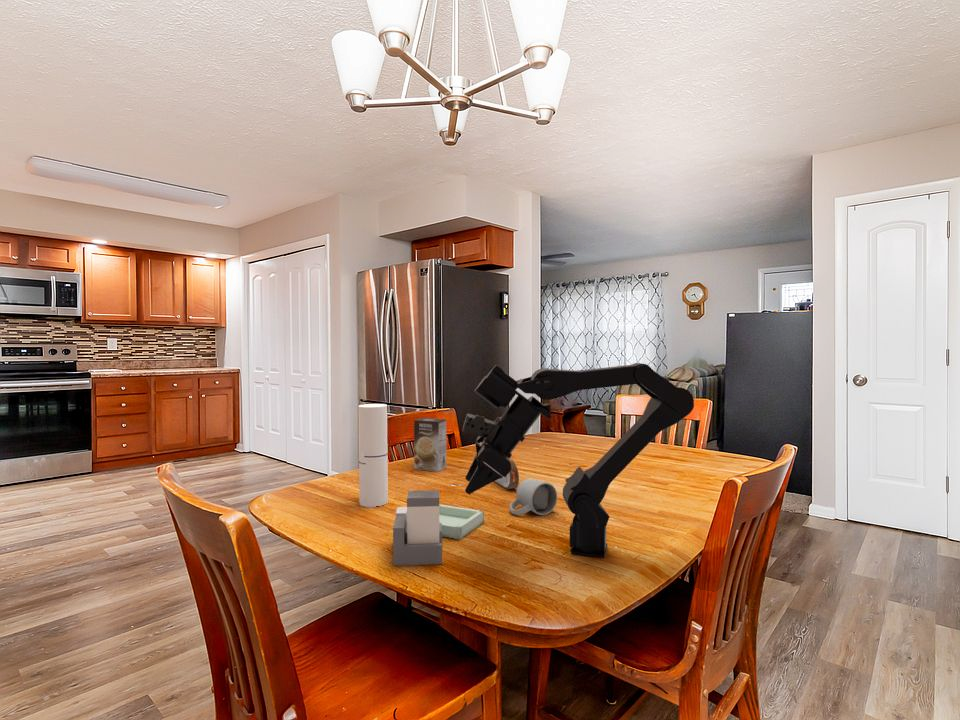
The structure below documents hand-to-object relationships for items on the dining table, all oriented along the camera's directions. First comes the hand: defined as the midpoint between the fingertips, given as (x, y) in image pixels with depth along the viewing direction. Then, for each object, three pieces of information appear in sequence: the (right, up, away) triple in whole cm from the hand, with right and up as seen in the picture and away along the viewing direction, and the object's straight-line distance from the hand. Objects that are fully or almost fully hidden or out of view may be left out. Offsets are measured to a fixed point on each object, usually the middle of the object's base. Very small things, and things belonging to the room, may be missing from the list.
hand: (466, 486), depth 104 cm
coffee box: (-14, -11, +68) cm, 70 cm away
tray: (-5, -12, +15) cm, 20 cm away
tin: (+9, -11, +48) cm, 50 cm away
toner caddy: (-8, -13, -2) cm, 16 cm away
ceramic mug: (+15, -12, +25) cm, 32 cm away
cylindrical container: (-25, -12, +32) cm, 42 cm away
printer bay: (-9, -13, 0) cm, 16 cm away
